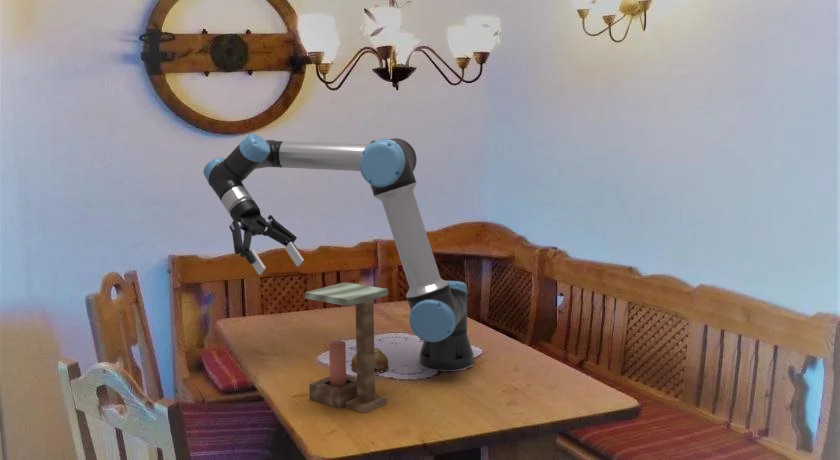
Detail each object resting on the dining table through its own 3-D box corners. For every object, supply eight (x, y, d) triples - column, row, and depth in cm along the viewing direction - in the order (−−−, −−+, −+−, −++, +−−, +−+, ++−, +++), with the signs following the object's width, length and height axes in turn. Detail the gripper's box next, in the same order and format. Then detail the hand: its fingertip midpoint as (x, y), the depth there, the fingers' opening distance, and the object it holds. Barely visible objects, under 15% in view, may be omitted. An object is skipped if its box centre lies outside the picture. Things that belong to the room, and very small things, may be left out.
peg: (348, 395, 199) (347, 341, 197) (343, 401, 195) (342, 345, 193) (333, 394, 200) (331, 340, 198) (328, 400, 196) (326, 344, 194)
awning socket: (303, 402, 195) (300, 291, 191) (342, 386, 206) (340, 281, 202) (356, 417, 185) (354, 300, 181) (394, 399, 196) (392, 289, 192)
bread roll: (354, 387, 216) (355, 365, 212) (347, 361, 225) (349, 339, 220) (389, 383, 219) (392, 361, 215) (381, 358, 227) (384, 336, 223)
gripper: (269, 211, 228) (308, 268, 221) (197, 221, 209) (238, 284, 202) (281, 193, 224) (322, 251, 218) (210, 202, 205) (252, 265, 198)
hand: (282, 267), depth 210 cm, fingers open, 13 cm apart
